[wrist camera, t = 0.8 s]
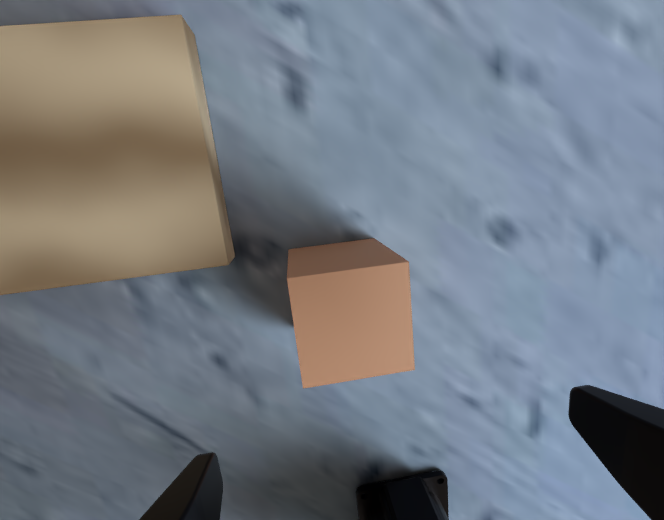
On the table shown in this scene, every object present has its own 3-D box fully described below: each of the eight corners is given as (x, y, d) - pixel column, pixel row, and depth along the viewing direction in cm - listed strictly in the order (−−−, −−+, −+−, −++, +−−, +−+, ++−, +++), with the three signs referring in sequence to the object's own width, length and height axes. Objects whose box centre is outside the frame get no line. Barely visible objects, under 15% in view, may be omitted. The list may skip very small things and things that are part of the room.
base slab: (235, 256, 19) (228, 264, 17) (24, 283, 18) (-8, 295, 16) (194, 35, 16) (180, 14, 14) (-56, 52, 15) (-108, 32, 13)
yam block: (380, 316, 21) (414, 369, 15) (299, 329, 20) (303, 388, 14) (373, 237, 19) (408, 261, 14) (288, 249, 19) (286, 278, 13)
